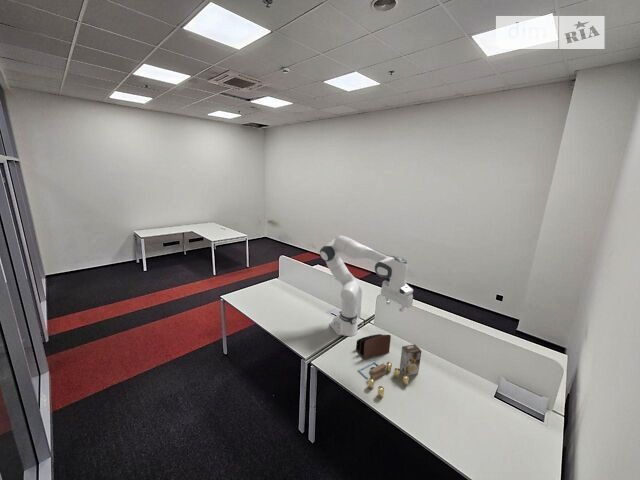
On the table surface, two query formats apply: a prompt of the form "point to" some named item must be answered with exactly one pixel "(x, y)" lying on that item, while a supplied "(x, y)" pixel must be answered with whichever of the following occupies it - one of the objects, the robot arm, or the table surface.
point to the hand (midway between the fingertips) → (394, 307)
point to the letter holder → (373, 345)
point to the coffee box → (410, 360)
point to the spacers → (396, 376)
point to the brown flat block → (378, 371)
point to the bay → (366, 367)
